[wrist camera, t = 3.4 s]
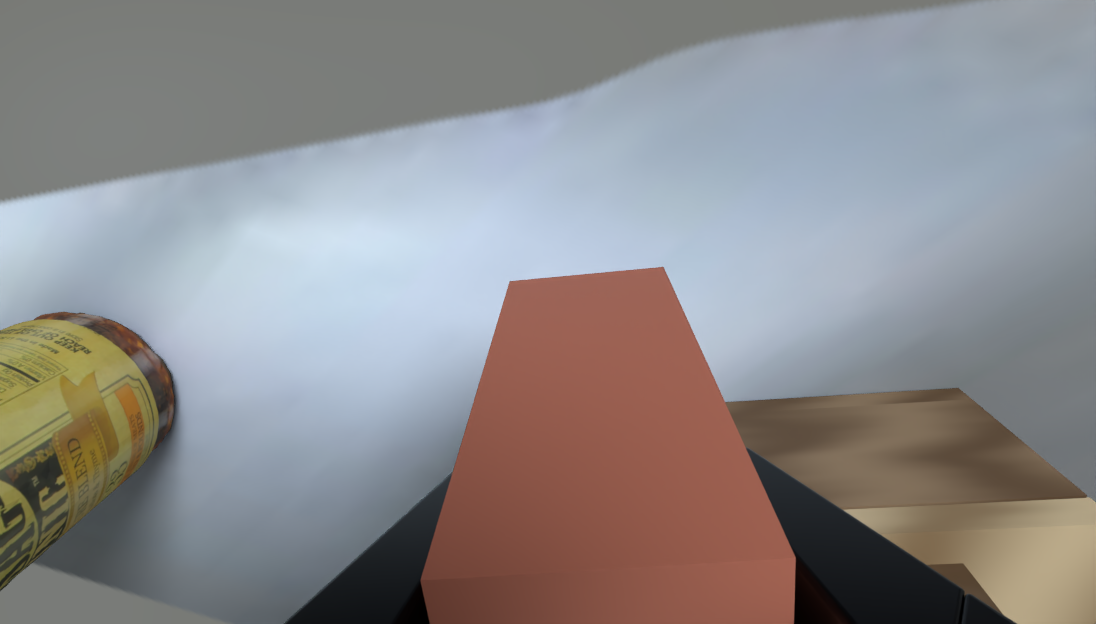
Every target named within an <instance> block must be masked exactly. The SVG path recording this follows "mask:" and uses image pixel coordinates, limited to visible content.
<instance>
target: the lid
mask: <svg viewBox="0 0 1096 624" xmlns="http://www.w3.org/2000/svg"><path fill="white" fill-rule="evenodd" d="M844 511H845V512H847V513H849V514H850V515H852V516H853V517H855V518H856V519H858V520H859V521H861V522H862V523H864V524H865V525H867V526H868V527H870V528H871V529H873V530H874V531H876V532H877V533H879V534H880V535H882V536H884V537H885V538H887V539H888V540H890V541H891V542H893V543H894V544H896V545H897V546H899V547H900V548H902V549H903V550H905V551H906V552H908V553H909V554H911V555H912V556H914V557H915V558H917V559H919V560H920V561H922V562H923V563H925V564H926V565H928V566H929V567H931V568H932V569H934V570H935V571H937V572H938V573H940V574H941V575H943V576H944V577H946V578H947V579H949V580H950V581H952V582H954V583H955V584H957V585H958V586H960V587H961V588H962V589H963V590H964V591H965V595H966V594H972V595H974V596H975V597H977V598H978V599H980V600H981V601H983V602H984V603H986V604H987V605H989V606H991V607H992V608H994V609H995V610H997V611H998V612H1000V613H1001V614H1003V615H1004V616H1006V617H1007V618H1009V619H1011V620H1012V621H1014V622H1015V623H1017V624H1095V623H1096V502H1094V501H1093V500H1092V499H1091V498H1073V499H1052V500H1031V501H1011V502H990V503H970V504H949V505H929V506H908V507H887V508H867V509H846V510H844ZM964 597H965V596H964Z"/></svg>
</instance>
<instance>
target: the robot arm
mask: <svg viewBox="0 0 1096 624" xmlns="http://www.w3.org/2000/svg"><path fill="white" fill-rule="evenodd" d="M746 450H747V452H748V454H749V456H750V458H751V461H752V463H753V465H754V467H755V469H756V472H757V474H758V476H759V478H760V480H761V483H762V485H763V487H764V489H765V491H766V494H767V496H768V498H769V500H770V502H771V505H772V507H773V509H774V511H775V513H776V516H777V518H778V520H779V522H780V524H781V527H782V529H783V531H784V533H785V535H786V538H787V540H788V542H789V544H790V546H791V548H792V551H793V553H794V555H795V557H796V566H795V603H794V624H1017V623H1015V622H1014V621H1012V620H1011V619H1009V618H1007V617H1006V616H1004V615H1003V614H1001V613H1000V612H998V611H997V610H995V609H994V608H992V607H991V606H989V605H987V604H986V603H984V602H983V601H981V600H980V599H978V598H977V597H975V596H974V595H972V594H966V595H965V591H964V590H963V589H962V588H961V587H960V586H958V585H957V584H955V583H954V582H952V581H950V580H949V579H947V578H946V577H944V576H943V575H941V574H940V573H938V572H937V571H935V570H934V569H932V568H931V567H929V566H928V565H926V564H925V563H923V562H922V561H920V560H919V559H917V558H915V557H914V556H912V555H911V554H909V553H908V552H906V551H905V550H903V549H902V548H900V547H899V546H897V545H896V544H894V543H893V542H891V541H890V540H888V539H887V538H885V537H884V536H882V535H880V534H879V533H877V532H876V531H874V530H873V529H871V528H870V527H868V526H867V525H865V524H864V523H862V522H861V521H859V520H858V519H856V518H855V517H853V516H852V515H850V514H849V513H847V512H845V511H844V510H842V509H841V508H839V507H838V506H836V505H835V504H833V503H832V502H830V501H829V500H827V499H826V498H824V497H823V496H821V495H820V494H818V493H817V492H815V491H814V490H812V489H810V488H809V487H807V486H806V485H804V484H803V483H801V482H800V481H798V480H797V479H795V478H794V477H792V476H791V475H789V474H788V473H786V472H785V471H783V470H782V469H780V468H778V467H777V466H775V465H774V464H772V463H771V462H769V461H768V460H766V459H765V458H763V457H762V456H760V455H759V454H757V453H756V452H754V451H753V450H751V449H749V448H747V447H746ZM452 473H453V472H452ZM452 473H451V474H450V475H449V476H448V477H446V478H445V479H444V480H443V481H442V482H441V483H440V484H439V485H438V486H436V487H435V488H434V489H433V490H432V491H431V492H430V493H429V494H428V495H426V496H425V497H424V498H423V499H422V500H421V501H420V502H419V503H417V504H416V505H415V506H414V507H413V508H412V509H411V510H410V511H409V512H407V513H406V514H405V515H404V516H403V517H402V518H401V519H400V520H399V521H397V522H396V523H395V524H394V525H393V526H392V527H391V528H390V529H388V530H387V531H386V532H385V533H384V534H383V535H382V536H381V537H380V538H378V539H377V540H376V541H375V542H374V543H373V544H372V545H371V546H370V547H368V548H367V549H366V550H365V551H364V552H363V553H362V554H361V555H359V556H358V557H357V558H356V559H355V560H354V561H353V562H352V563H351V564H349V565H348V566H347V567H346V568H345V569H344V570H343V571H342V572H341V573H339V574H338V575H337V576H336V577H335V578H334V579H333V580H332V581H331V582H329V583H328V584H327V585H326V586H325V587H324V588H323V589H322V590H320V591H319V592H318V593H317V594H316V595H315V596H314V597H313V598H312V599H310V600H309V601H308V602H307V603H306V604H305V605H304V606H303V607H302V608H300V609H299V610H298V611H297V612H296V613H295V614H294V615H293V616H291V617H290V618H289V619H288V620H287V621H286V622H285V623H284V624H430V622H429V617H428V613H427V608H426V604H425V599H424V595H423V590H422V586H421V581H420V580H421V577H422V573H423V570H424V567H425V563H426V560H427V557H428V553H429V550H430V547H431V543H432V540H433V537H434V533H435V530H436V526H437V523H438V520H439V516H440V513H441V510H442V506H443V503H444V500H445V496H446V493H447V490H448V486H449V483H450V480H451V476H452ZM964 596H965V597H964Z"/></svg>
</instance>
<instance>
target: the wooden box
mask: <svg viewBox="0 0 1096 624" xmlns="http://www.w3.org/2000/svg"><path fill="white" fill-rule="evenodd" d="M725 403H726V406H727V408H728V410H729V412H730V414H731V417H732V419H733V421H734V423H735V425H736V428H737V430H738V432H739V434H740V436H741V439H742V441H743V443H744V445H745V447H747V448H749V449H751V450H753V451H754V452H756V453H757V454H759V455H760V456H762V457H763V458H765V459H766V460H768V461H769V462H771V463H772V464H774V465H775V466H777V467H778V468H780V469H782V470H783V471H785V472H786V473H788V474H789V475H791V476H792V477H794V478H795V479H797V480H798V481H800V482H801V483H803V484H804V485H806V486H807V487H809V488H810V489H812V490H814V491H815V492H817V493H818V494H820V495H821V496H823V497H824V498H826V499H827V500H829V501H830V502H832V503H833V504H835V505H836V506H838V507H839V508H841V509H842V510H846V509H867V508H887V507H908V506H929V505H949V504H970V503H990V502H1011V501H1031V500H1052V499H1073V498H1086V497H1087V495H1086V494H1085V493H1084V492H1082V491H1081V490H1080V489H1079V488H1078V487H1076V486H1075V485H1074V484H1073V483H1072V482H1070V481H1069V480H1068V479H1067V478H1066V477H1064V476H1063V475H1062V474H1061V473H1060V472H1058V471H1057V470H1056V469H1055V468H1054V467H1052V466H1051V465H1050V464H1049V463H1048V462H1046V461H1045V460H1044V459H1043V458H1042V457H1040V456H1039V455H1038V454H1037V453H1036V452H1034V451H1033V450H1032V449H1031V448H1030V447H1028V446H1027V445H1026V444H1025V443H1024V442H1022V441H1021V440H1020V439H1019V438H1018V437H1016V436H1015V435H1014V434H1013V433H1012V432H1011V431H1009V430H1008V429H1007V428H1006V427H1005V426H1003V425H1002V424H1001V423H1000V422H999V421H997V420H996V419H995V418H994V417H993V416H991V415H990V414H989V413H988V412H987V411H985V410H984V409H983V408H982V407H981V406H979V405H978V404H977V403H976V402H975V401H973V400H972V399H971V398H970V397H969V396H967V395H966V394H965V393H964V392H963V391H961V390H960V389H959V388H952V389H935V390H919V391H902V392H886V393H870V394H853V395H837V396H821V397H804V398H788V399H771V400H755V401H739V402H725Z"/></svg>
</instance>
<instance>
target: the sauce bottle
mask: <svg viewBox="0 0 1096 624" xmlns="http://www.w3.org/2000/svg"><path fill="white" fill-rule="evenodd" d="M172 384H173V382H172V380H171V375H170V372H169V370H168V368H167V367H166V365H165V364H164V362H163V360H162V359H161V358H160V357H159V356H158V355H157V354H155V353H154V352H153V351H152V350H151V349H150V347H149V346H148V345H147V344H146V343H145V342H144V341H143V340H142V339H141V338H140V337H139V336H138V335H137V334H136V333H134V332H133V331H131V330H129V329H128V328H126V327H124V326H123V325H121V324H119V323H117V322H115V321H112V320H109V319H106V318H103V317H100V316H94V315H88V314H85V313H78V314H75V313H68V312H58V313H51V314H45V315H41V316H39V317H37V318H35V319H34V320H32V321H27V322H22V323H19V324H16V325H13V326H10V327H8V328H5V329H3V330H1V331H0V591H1V590H2V589H3V588H4V587H6V586H7V585H8V583H10V581H11V580H12V579H13V578H15V577H16V575H18V574H19V573H20V572H21V571H23V570H24V569H25V568H26V567H28V566H29V565H30V564H32V563H33V562H34V561H35V560H36V559H37V558H38V557H40V556H41V555H42V554H43V553H44V552H45V551H46V550H47V549H48V548H49V547H50V546H51V545H52V544H53V543H55V542H56V541H57V540H58V539H59V538H60V537H62V536H63V535H64V534H65V533H66V532H67V531H68V530H69V529H71V528H72V527H73V526H74V525H75V524H76V523H77V522H78V521H80V520H81V519H82V518H83V517H84V516H85V515H86V514H88V513H89V512H90V511H91V510H92V509H93V508H94V507H96V506H97V505H98V504H99V503H100V502H101V501H103V500H104V499H105V498H106V497H107V496H108V495H109V494H110V493H111V492H113V491H114V490H115V489H116V488H117V487H118V486H119V485H121V484H122V483H123V482H124V481H125V480H126V479H127V478H129V477H130V476H131V475H132V474H133V473H134V472H135V471H137V470H138V469H139V468H140V467H141V466H142V465H143V463H144V462H145V461H146V459H147V458H148V457H149V455H150V453H151V451H153V450H154V449H155V448H157V446H158V445H159V443H161V442H162V440H163V439H164V437H165V435H166V434H167V433H168V432H169V430H170V429H171V423H172V419H173V414H174V394H173V391H172Z"/></svg>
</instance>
